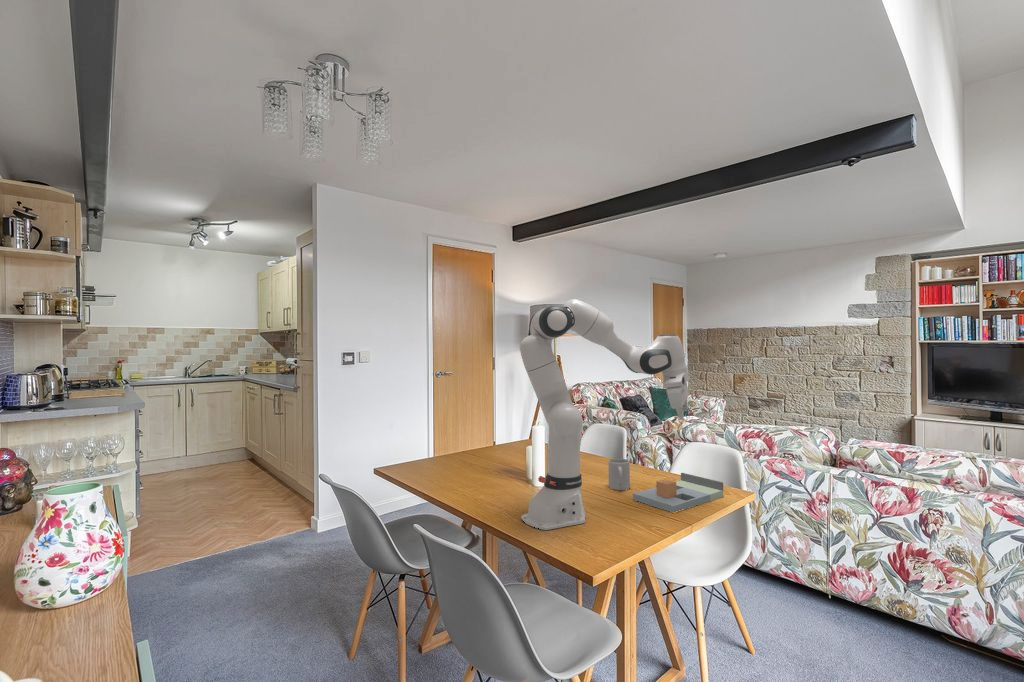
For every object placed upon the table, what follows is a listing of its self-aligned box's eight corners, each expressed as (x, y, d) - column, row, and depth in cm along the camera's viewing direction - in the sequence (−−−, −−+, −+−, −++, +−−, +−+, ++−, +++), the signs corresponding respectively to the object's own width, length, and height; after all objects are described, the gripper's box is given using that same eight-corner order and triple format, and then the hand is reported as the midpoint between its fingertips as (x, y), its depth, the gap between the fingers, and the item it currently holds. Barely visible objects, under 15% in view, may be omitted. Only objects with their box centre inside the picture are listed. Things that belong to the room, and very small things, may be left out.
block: (667, 498, 173) (667, 484, 173) (656, 494, 177) (656, 481, 177) (676, 495, 176) (676, 482, 176) (665, 492, 180) (664, 479, 180)
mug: (607, 484, 200) (607, 458, 200) (628, 484, 199) (628, 458, 199) (610, 493, 188) (609, 465, 188) (632, 493, 187) (631, 465, 187)
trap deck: (673, 513, 164) (673, 497, 164) (632, 500, 179) (632, 485, 179) (723, 496, 181) (723, 482, 181) (682, 486, 196) (682, 472, 196)
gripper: (671, 372, 184) (678, 407, 185) (662, 384, 166) (670, 423, 167) (688, 370, 181) (695, 405, 182) (680, 382, 163) (688, 421, 164)
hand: (683, 414), depth 174 cm, fingers open, 8 cm apart
